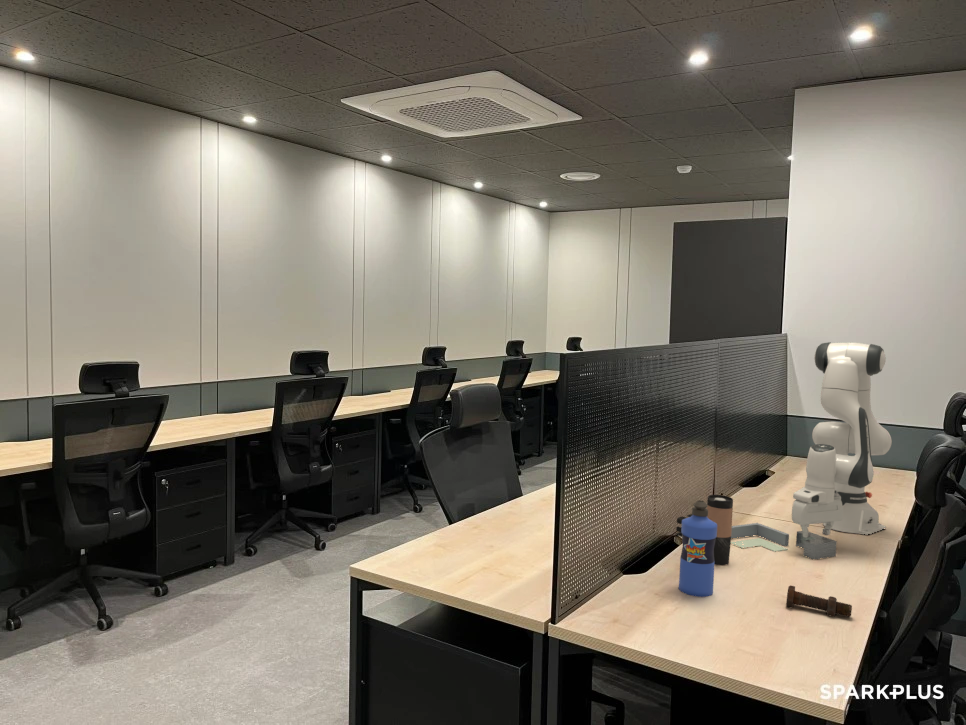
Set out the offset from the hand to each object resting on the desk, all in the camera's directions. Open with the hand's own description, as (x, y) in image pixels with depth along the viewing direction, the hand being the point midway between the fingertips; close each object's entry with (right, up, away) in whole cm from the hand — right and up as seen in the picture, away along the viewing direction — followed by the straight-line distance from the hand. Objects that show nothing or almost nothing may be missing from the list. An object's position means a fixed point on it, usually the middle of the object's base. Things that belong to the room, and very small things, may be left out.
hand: (816, 535), depth 226 cm
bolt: (-23, -8, -48) cm, 53 cm away
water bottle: (-51, -6, -36) cm, 63 cm away
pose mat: (-18, -5, +4) cm, 19 cm away
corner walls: (-18, -4, +8) cm, 20 cm away
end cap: (-37, -4, +13) cm, 39 cm away
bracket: (-3, -5, 0) cm, 6 cm away
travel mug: (-37, -5, -12) cm, 39 cm away
